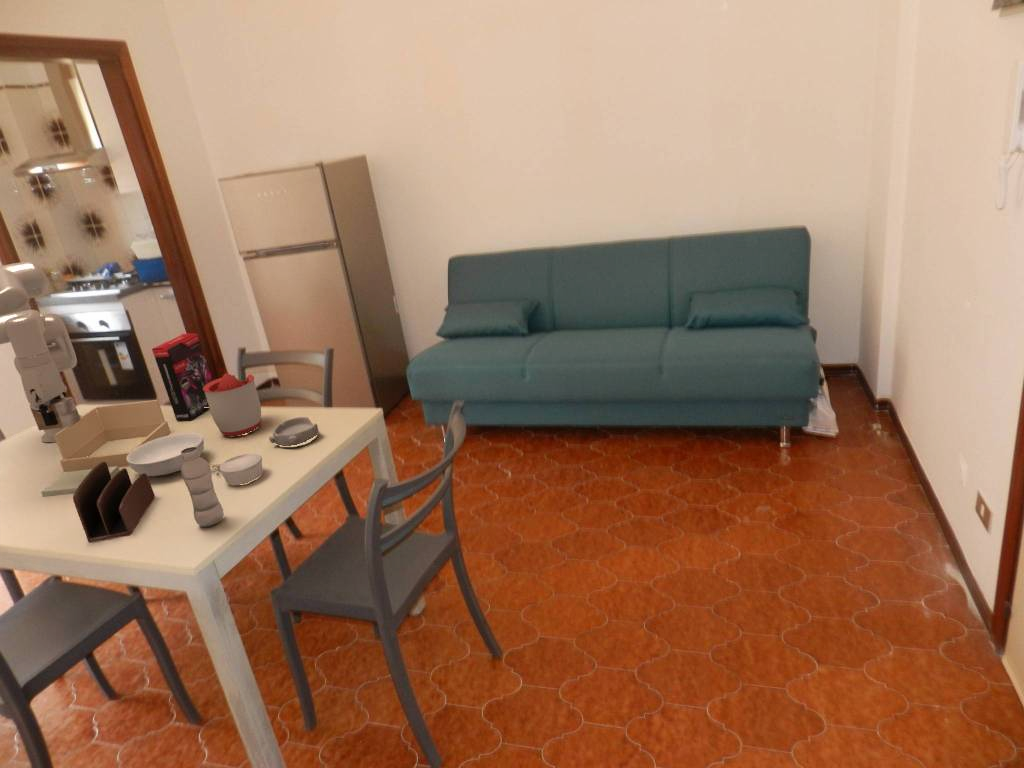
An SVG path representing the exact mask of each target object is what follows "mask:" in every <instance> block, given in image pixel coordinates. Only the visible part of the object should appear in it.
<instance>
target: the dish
mask: <svg viewBox="0 0 1024 768" xmlns="http://www.w3.org/2000/svg"><path fill="white" fill-rule="evenodd" d="M317 433H318V434H319V427H318V424H317V423H313V422H312V421H311V419H310V418H309V417H307V416H299V417H293V418H290V419H287V420H284V421H283V422H281V423H278V424H277V425H276V426H275V428H273V430H272V435H270V436H269V438H268V439H269V442H270V443H272V444H278V445H282V446H291V445H297V444H300V443H303V442H306V441H307V440H309V439H311V438H313V437H314V436H316V435H317Z"/></svg>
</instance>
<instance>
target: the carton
mask: <svg viewBox="0 0 1024 768" xmlns="http://www.w3.org/2000/svg"><path fill="white" fill-rule="evenodd" d="M80 419H81V420H80V421H78V422H77V423H75V424H74V425H72V426H71V427H66V428H64V429H63V430H61V431H60V432H58V433H57V434H55V435H54V437H55V439H56V442H55V443H56V445H57V447H58V449H59V452H60V455H61V457H62V459H61V460H59V463H60V465H61V467H62V471H63V473H64V472H71V471H80V470H89V469H93V468H95V467H96V466H97V465H98V464H100V463H101V462H106V463H107V466H108V467H115V466H118V467H119V468H121V467H128V466H129V464H128V462H127V460H126V458H127V455H128V454H129V453H130V452H131V451H132V450H134V449H135V448H137V447H139V446H141V445H143V444H145V443H147V442H149V441H152V440H155V439H158V438H161V437H165V436H169V434H171V429H170V426H169V423H168V421H166V420H165V417H164V414H163V411H162V408H161V404H160V402H159V399H153V400H145V401H137V402H135V401H134V402H127V403H119V404H110V405H102V406H97V407H95V408H92V409H91V410H89V411H87V412H86V413H85V414H84V415H81V417H80ZM141 436H142V437H145V438H144V439H142V440H141V441H140V442H139V443H138V444H136V445H135V446H134V447H132V449H130V451H128V452H127V451H125V452H119V453H117V452H116V453H108V454H100V455H92V454H93V453H94V452H96V451H97V450H98V449H99V447H100V448H101V447H102V446H103V445H104V444H107V442H109V441H115V440H124V439H125V438H126V439H133V438H134V439H135V438H140V437H141ZM126 439H125V440H126ZM91 453H92V454H91ZM90 454H91V455H92V456H91V455H90ZM87 456H88V457H87ZM129 467H130V466H129Z"/></svg>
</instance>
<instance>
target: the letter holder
mask: <svg viewBox="0 0 1024 768" xmlns="http://www.w3.org/2000/svg"><path fill="white" fill-rule="evenodd" d="M119 470H120V471H119V472H118V473H116V474H115V475H114V476H113V477H112V478H111V475H110V472H109V469H108V466H107V463H106V462H101V463H100V464H98V465H97V466H96V467H95V468H93V469H92V470H91V471H90V472H89V474H88V475H87V476H86V477H85V479H84V480H83V481H82V482H81V484H80V485H79V487H78V488H77V490H76V491H75V493H73V496H72V499H73V503H74V506H75V509H76V513H77V515H78V517H79V520H80V522H81V526H82V529H83V531H84V533H85V536H86V540H87V543H94V542H101V541H106V540H110V539H115V538H119V537H125V536H130V535H131V534H132V533H133V531H134V529H135V528H136V526H137V525H138V524H139V521H140V520H141V519H142V518H143V516H144V514H145V513H146V511H147V510H148V508H149V507H150V505H151V504H152V502H153V501H154V499H155V497H156V495H155V492H154V490H153V487H152V485H151V483H150V479H149V476H147V475H146V473H143V474H139V476H137V478H136V479H135V480H134V481H133V483H132V481H131V479H130V475H129V472H128V470H127V468H126V467H124V468H121V469H119Z"/></svg>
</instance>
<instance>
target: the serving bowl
mask: <svg viewBox="0 0 1024 768" xmlns="http://www.w3.org/2000/svg"><path fill="white" fill-rule="evenodd" d="M189 447H197V448H198V451H199V453H200V456H199V457H201V455H202V454H203V451H204V447H205V443H204V437H203V435H202V434H200V433H197V432H181V433H180V432H179V433H174V434H170V435H169V434H168V435H167V436H165V437H161V438H158V439H155V440H152V441H149V442H147V443H145V444H143V445H141V446H139V447H137V448H135V449H134V450H132V449H131V450H132V451H131V450H130V451H131V452H130V451H129V452H130V453H129V454H128V455H127V458H126V460H127V462H128V464H129V467H130V469H131V470H133V471H134V472H136V473H137V474H139V475H141V474H143V473H146V475H147V477H158V476H164V475H171V474H174V473H176V471H177V472H179V471H181V468H182V465H183V463H184V460H183V459H182V455H181V451H182V450H184V449H186V448H189ZM173 472H174V473H173ZM170 473H171V474H170Z"/></svg>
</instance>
